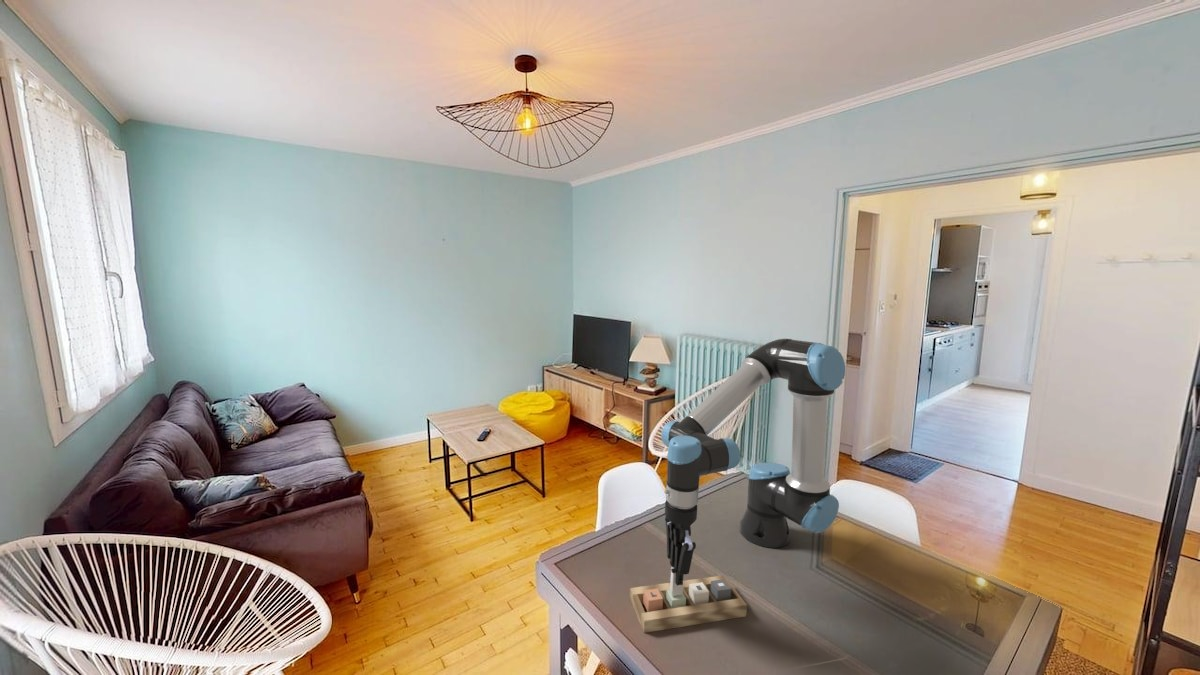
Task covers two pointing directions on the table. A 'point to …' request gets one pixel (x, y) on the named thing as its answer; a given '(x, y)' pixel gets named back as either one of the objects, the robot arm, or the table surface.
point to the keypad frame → (686, 607)
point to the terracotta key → (652, 600)
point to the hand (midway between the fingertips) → (676, 593)
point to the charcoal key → (720, 590)
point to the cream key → (698, 593)
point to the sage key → (675, 600)
